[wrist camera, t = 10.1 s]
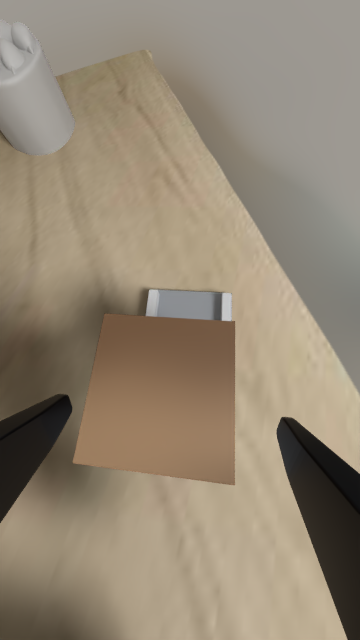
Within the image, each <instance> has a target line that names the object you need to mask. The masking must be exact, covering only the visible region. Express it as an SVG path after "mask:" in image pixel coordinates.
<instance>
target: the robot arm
mask: <svg viewBox="0 0 360 640" xmlns="http://www.w3.org/2000/svg"><path fill="white" fill-rule="evenodd" d="M71 413H72V405H71V402H70V399H69V396H68V395H65V394H57V395H55V396H53V397H51V398H49V399H47V400H44V401H42V402H40V403H38V404H36V405H34V406H32V407H30V408H28V409H25V410H23V411H21V412H19V413H17V414H15V415H13V416H11V417H9V418H6V419H4V420H2V421H0V523H1V521H2V520H3V518H4V517H5V516H6V514H7V513H8V511H9V510H10V508H11V507H12V505H13V504H14V502H15V501H16V499H17V498H18V497H19V495H20V494H21V492H22V491H23V489H24V488H25V486H26V485H27V483H28V482H29V480H30V479H31V478H32V476H33V475H34V473H35V472H36V470H37V469H38V467H39V466H40V464H41V463H42V461H43V460H44V459H45V457H46V456H47V454H48V453H49V451H50V450H51V448H52V447H53V445H54V443H55V442H56V440H57V438H58V436H59V435H60V433H61V431H62V429H63V427H64V426H65V424H66V422H67V420H68V419H69V417H70V415H71ZM277 439H278V443H279V446H280V450H281V454H282V458H283V462H284V466H285V469H286V473H287V476H288V479H289V482H290V485H291V488H292V490H293V493H294V496H295V499H296V501H297V504H298V507H299V509H300V512H301V515H302V517H303V520H304V523H305V526H306V528H307V531H308V534H309V536H310V539H311V542H312V544H313V547H314V550H315V553H316V555H317V558H318V561H319V563H320V566H321V569H322V571H323V574H324V577H325V580H326V582H327V585H328V588H329V590H330V593H331V596H332V598H333V601H334V604H335V607H336V609H337V612H338V615H339V617H340V620H341V623H342V625H343V628H344V631H345V634H346V636H347V639H348V640H360V474H359V473H358V472H357V471H356V470H354V469H353V468H352V467H351V466H350V465H348V464H347V463H346V462H345V461H344V460H343V459H341V458H340V457H339V456H338V455H337V454H335V453H334V452H333V451H332V450H331V449H329V448H328V447H327V446H326V445H325V444H323V443H322V442H321V441H320V440H319V439H317V438H316V437H315V436H314V435H313V434H311V433H310V432H309V431H308V430H307V429H306V428H304V427H303V426H302V425H301V424H300V423H298V422H297V421H296V420H295V419H293V418H290V417H282V418H281V420H280V422H279V425H278V428H277Z"/></svg>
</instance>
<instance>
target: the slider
mask: <svg viewBox="0 0 360 640" xmlns="http://www.w3.org/2000/svg"><path fill="white" fill-rule="evenodd" d="M146 316H154V317H170V318H187V319H204V320H220V321H232V293H217V292H195V291H174V290H153V289H149V296H148V302H147V309H146Z"/></svg>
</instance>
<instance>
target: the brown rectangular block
mask: <svg viewBox="0 0 360 640" xmlns="http://www.w3.org/2000/svg"><path fill="white" fill-rule="evenodd" d="M73 463H75V464H83V465H90V466H97V467H104V468H112V469H119V470H126V471H134V472H141V473H148V474H156V475H163V476H170V477H178V478H185V479H192V480H200V481H207V482H214V483H222V484H229V485H235V321H220V320H204V319H187V318H170V317H154V316H137V315H121V314H104V318H103V323H102V327H101V332H100V337H99V341H98V346H97V351H96V355H95V360H94V365H93V369H92V374H91V379H90V383H89V388H88V393H87V398H86V402H85V407H84V412H83V416H82V421H81V426H80V430H79V435H78V440H77V444H76V449H75V454H74V459H73Z"/></svg>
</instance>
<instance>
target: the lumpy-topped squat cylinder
mask: <svg viewBox="0 0 360 640" xmlns="http://www.w3.org/2000/svg"><path fill="white" fill-rule="evenodd" d="M74 127H75V120H74V117H73V115H72V113H71V111H70V109H69V106H68V104H67V102H66V100H65V98H64V95H63V93H62V91H61V89H60V87H59V84H58V82H57V80H56V78H55V76H54V74H53V71H52V69H51V67H50V65H49V63H48V61H47V58H46V56H45V54H44V52H43V50H42V48H41V45H40V43H39V42H38V40H37V39H36V37H35V36H34V35H33V34H32V33H31V31H30V30H29V29H28V27H26V26H25V25H24V24H22V23H20V22H14V23H13V24H12V25H10V24H8V23H7V22H5V21H3V20H1V19H0V131H1V132H2V133H3V134H4V136H5V137H6V138H7V140H8V141H9V142H10V144H11V145H12V146H13V147H14V148H15V149H16V150H18V151H21V152H23V153H26V154H29V155H47V154H51V153H53V152H55V151H57V150H59V149H60V148H62V147H63V146H64V145H65V144H66V143H67V141H68V140H69V139H70V137H71V135H72V133H73V130H74Z"/></svg>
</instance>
